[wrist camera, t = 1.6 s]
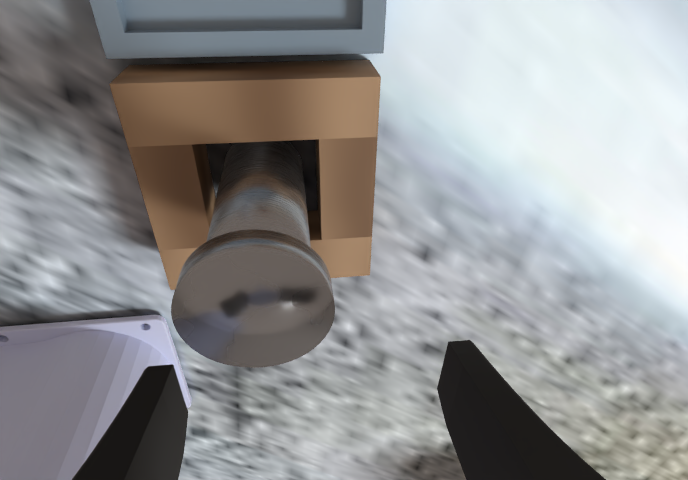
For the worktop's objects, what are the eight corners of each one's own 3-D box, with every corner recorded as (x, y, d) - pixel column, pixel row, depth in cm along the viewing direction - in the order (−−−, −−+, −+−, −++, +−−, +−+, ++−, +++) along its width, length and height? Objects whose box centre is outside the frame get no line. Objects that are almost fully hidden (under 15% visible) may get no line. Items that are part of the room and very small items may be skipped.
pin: (221, 214, 20) (188, 374, 13) (204, 122, 18) (153, 258, 11) (315, 208, 21) (335, 360, 14) (312, 118, 18) (334, 246, 11)
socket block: (180, 256, 21) (170, 289, 20) (129, 65, 16) (109, 84, 14) (361, 244, 22) (369, 275, 20) (369, 59, 17) (380, 77, 15)
